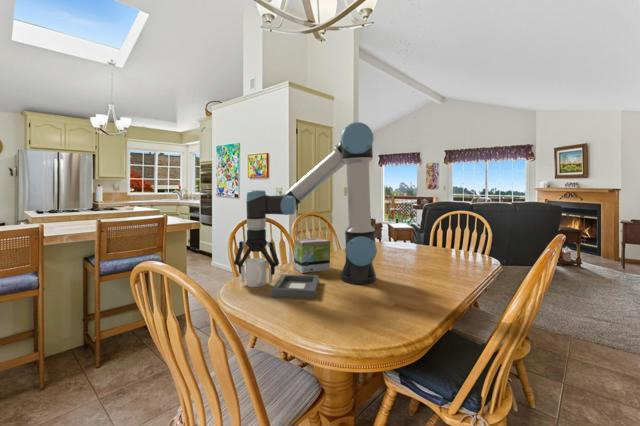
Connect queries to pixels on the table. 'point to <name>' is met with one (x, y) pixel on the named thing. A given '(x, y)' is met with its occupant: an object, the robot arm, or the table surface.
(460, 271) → the table surface
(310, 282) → the gray tray
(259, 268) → the mug
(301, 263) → the tea box
